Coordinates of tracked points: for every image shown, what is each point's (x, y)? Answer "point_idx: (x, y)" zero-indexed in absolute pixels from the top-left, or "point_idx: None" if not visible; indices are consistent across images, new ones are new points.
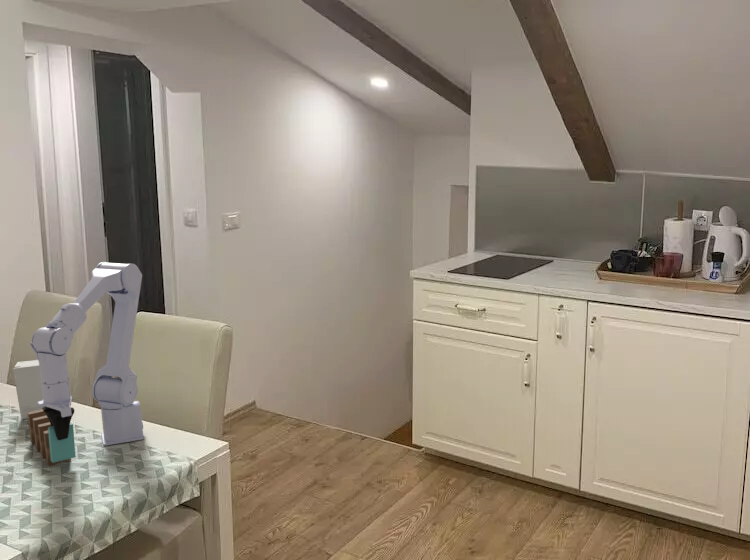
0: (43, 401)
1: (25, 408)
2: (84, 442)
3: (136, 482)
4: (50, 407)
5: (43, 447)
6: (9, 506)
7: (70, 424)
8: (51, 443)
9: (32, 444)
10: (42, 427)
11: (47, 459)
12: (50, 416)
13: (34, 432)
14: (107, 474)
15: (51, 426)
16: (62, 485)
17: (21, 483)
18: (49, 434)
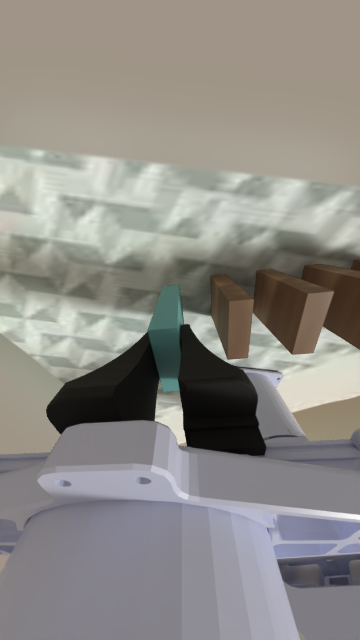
0: (139, 498)
1: None
2: (273, 346)
3: (78, 375)
4: (17, 473)
5: (268, 280)
6: (31, 158)
7: (164, 386)
8: (156, 306)
9: (356, 260)
10: (302, 301)
11: (217, 278)
12: (57, 394)
13: (357, 272)
14: (121, 351)
15: (176, 339)
16: (105, 286)
17: (151, 205)
18: (164, 316)
